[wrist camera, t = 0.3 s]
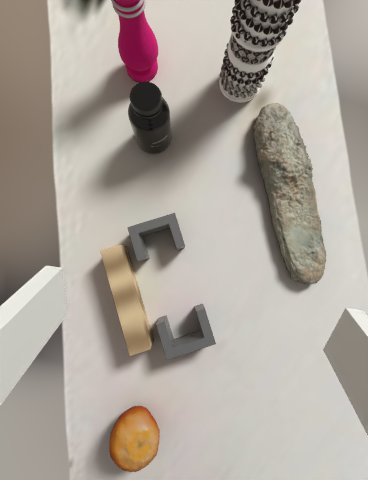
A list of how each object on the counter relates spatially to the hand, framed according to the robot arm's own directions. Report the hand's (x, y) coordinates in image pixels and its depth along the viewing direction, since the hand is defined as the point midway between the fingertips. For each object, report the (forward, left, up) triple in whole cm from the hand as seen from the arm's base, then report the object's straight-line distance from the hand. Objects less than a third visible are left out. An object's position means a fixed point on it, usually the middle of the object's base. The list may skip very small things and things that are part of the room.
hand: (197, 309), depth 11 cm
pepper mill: (+42, -4, -34) cm, 54 cm away
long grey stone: (+9, -23, -34) cm, 42 cm away
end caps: (-1, +3, -34) cm, 34 cm away
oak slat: (-1, +11, -34) cm, 36 cm away
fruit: (-23, +16, -34) cm, 44 cm away
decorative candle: (+33, -22, -34) cm, 52 cm away
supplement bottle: (+27, -2, -34) cm, 43 cm away
